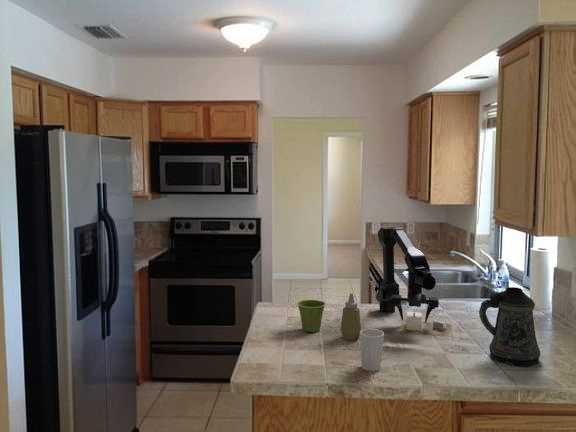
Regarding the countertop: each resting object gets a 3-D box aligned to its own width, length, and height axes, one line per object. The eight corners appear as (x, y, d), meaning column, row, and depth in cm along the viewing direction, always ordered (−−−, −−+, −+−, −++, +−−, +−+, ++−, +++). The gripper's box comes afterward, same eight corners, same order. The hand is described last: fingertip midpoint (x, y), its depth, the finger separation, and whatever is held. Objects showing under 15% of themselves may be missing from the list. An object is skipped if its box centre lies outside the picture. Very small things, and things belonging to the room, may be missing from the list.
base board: (400, 335, 199) (400, 332, 199) (401, 323, 214) (401, 320, 214) (453, 340, 194) (453, 336, 194) (450, 327, 210) (450, 323, 209)
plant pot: (329, 327, 209) (330, 301, 207) (319, 336, 198) (319, 308, 197) (303, 323, 213) (303, 298, 212) (292, 332, 203) (292, 305, 202)
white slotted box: (406, 329, 202) (406, 316, 202) (406, 323, 210) (407, 311, 209) (421, 330, 201) (421, 317, 200) (421, 324, 208) (421, 312, 208)
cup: (356, 362, 172) (357, 329, 171) (379, 362, 173) (380, 328, 171) (362, 372, 164) (363, 337, 163) (386, 371, 165) (386, 336, 163)
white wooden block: (442, 330, 201) (443, 323, 200) (432, 328, 204) (433, 321, 203) (445, 329, 202) (446, 322, 202) (435, 327, 205) (435, 319, 205)
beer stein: (551, 364, 171) (555, 293, 169) (503, 371, 166) (507, 297, 163) (516, 347, 187) (519, 282, 184) (471, 352, 182) (474, 285, 179)
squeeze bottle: (362, 336, 198) (363, 291, 196) (358, 343, 191) (359, 297, 189) (342, 334, 201) (343, 290, 199) (338, 340, 193) (338, 295, 191)
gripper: (390, 287, 198) (389, 325, 200) (440, 290, 194) (438, 329, 195) (392, 281, 209) (391, 317, 210) (438, 283, 204) (437, 321, 206)
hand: (413, 321), depth 205 cm, fingers open, 9 cm apart
